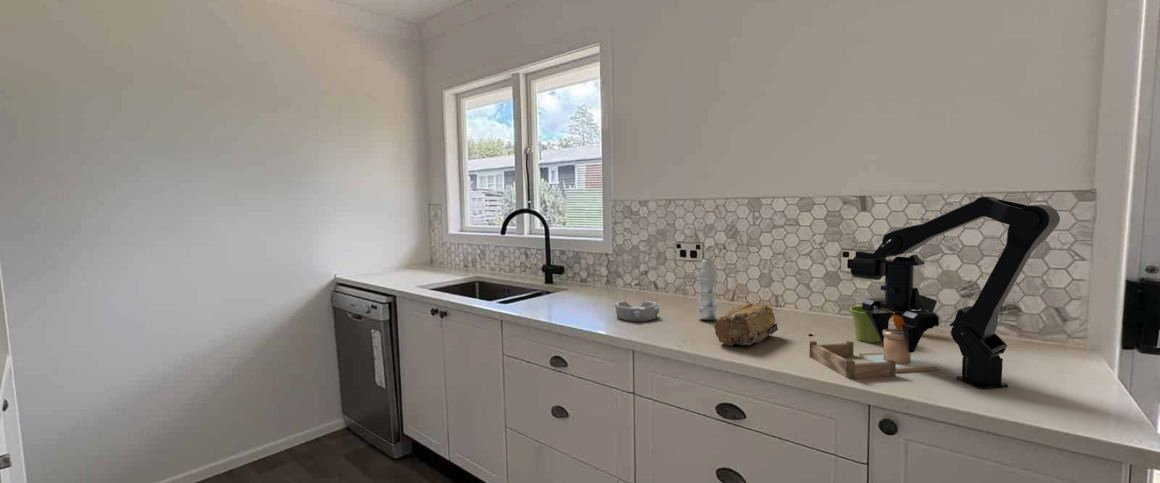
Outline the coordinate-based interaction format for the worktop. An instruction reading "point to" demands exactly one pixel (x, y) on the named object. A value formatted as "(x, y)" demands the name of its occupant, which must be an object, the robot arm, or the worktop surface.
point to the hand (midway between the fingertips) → (896, 346)
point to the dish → (637, 311)
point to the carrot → (898, 321)
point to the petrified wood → (746, 324)
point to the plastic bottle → (707, 291)
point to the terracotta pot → (895, 346)
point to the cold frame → (849, 361)
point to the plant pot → (864, 326)
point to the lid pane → (913, 366)
